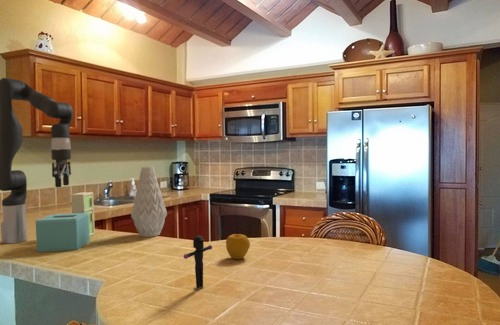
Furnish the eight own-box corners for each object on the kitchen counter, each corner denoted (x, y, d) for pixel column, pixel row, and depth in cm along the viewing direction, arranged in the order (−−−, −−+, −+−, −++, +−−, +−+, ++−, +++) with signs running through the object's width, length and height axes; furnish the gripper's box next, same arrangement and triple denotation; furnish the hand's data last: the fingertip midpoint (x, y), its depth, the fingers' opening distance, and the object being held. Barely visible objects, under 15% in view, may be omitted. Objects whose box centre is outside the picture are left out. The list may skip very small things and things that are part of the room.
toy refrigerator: (86, 238, 180) (84, 194, 179) (72, 237, 181) (70, 194, 181) (96, 234, 188) (94, 192, 187) (83, 234, 189) (81, 192, 189)
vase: (125, 236, 181) (122, 167, 181) (155, 230, 193) (152, 166, 193) (144, 240, 170) (141, 167, 169) (174, 234, 182) (172, 166, 181)
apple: (253, 255, 140) (252, 231, 139) (245, 262, 132) (244, 236, 131) (231, 254, 142) (230, 231, 142) (222, 260, 134) (221, 235, 134)
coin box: (37, 252, 156) (35, 220, 155) (53, 242, 171) (51, 214, 171) (77, 249, 157) (76, 218, 157) (89, 241, 173) (88, 212, 173)
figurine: (207, 281, 113) (205, 231, 113) (217, 283, 111) (216, 232, 111) (180, 294, 103) (178, 239, 102) (191, 297, 101) (189, 241, 100)
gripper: (58, 149, 170) (59, 185, 170) (44, 148, 156) (46, 188, 156) (76, 148, 171) (77, 184, 171) (63, 148, 156) (65, 187, 157)
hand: (62, 186), depth 164 cm, fingers open, 8 cm apart
